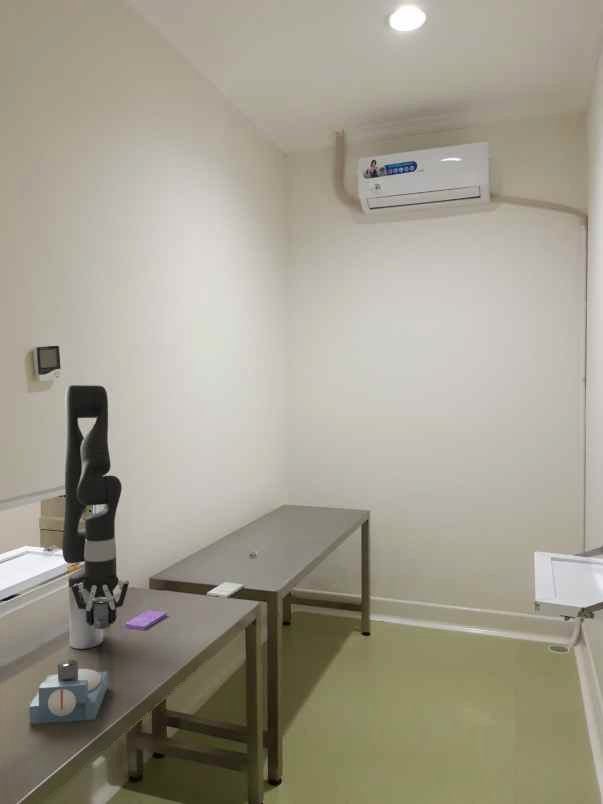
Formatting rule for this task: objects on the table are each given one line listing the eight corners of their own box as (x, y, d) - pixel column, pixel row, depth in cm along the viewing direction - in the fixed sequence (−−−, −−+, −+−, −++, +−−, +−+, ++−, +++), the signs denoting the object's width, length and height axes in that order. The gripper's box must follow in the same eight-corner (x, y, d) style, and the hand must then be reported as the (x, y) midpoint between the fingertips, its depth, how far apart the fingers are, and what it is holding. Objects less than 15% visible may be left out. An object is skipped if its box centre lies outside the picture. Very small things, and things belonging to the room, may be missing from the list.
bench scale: (49, 689, 154) (49, 657, 154) (108, 685, 156) (107, 653, 155) (29, 725, 138) (28, 689, 137) (94, 720, 139) (94, 685, 139)
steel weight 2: (94, 622, 158) (94, 599, 158) (112, 621, 158) (111, 598, 158) (91, 629, 154) (90, 605, 153) (109, 628, 154) (109, 604, 154)
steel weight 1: (60, 685, 146) (60, 660, 146) (80, 684, 147) (79, 659, 146) (55, 694, 142) (55, 668, 142) (75, 693, 142) (75, 667, 142)
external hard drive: (243, 588, 231) (226, 599, 219) (224, 586, 234) (206, 596, 222) (243, 584, 231) (226, 594, 219) (224, 581, 234) (206, 591, 222)
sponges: (124, 628, 193) (124, 622, 193) (148, 614, 205) (148, 609, 205) (144, 632, 190) (144, 626, 190) (167, 617, 202) (167, 611, 202)
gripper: (131, 550, 160) (132, 616, 161) (73, 553, 158) (75, 620, 159) (128, 558, 153) (129, 627, 153) (67, 561, 151) (68, 631, 151)
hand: (101, 623), depth 156 cm, fingers closed on steel weight 2, 4 cm apart
